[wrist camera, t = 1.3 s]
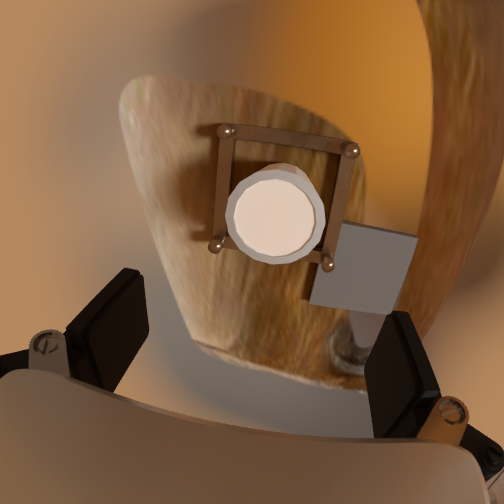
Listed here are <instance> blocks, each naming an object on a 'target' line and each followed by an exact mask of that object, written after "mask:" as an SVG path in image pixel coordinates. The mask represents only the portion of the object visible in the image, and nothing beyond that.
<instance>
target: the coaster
mask: <svg viewBox="0 0 504 504" xmlns="http://www.w3.org/2000/svg"><path fill="white" fill-rule="evenodd" d="M325 230H326V229H325ZM417 241H418V238H417V236H416V235H412V234H408V233H403V232H398V231H393V230H388V229H384V228H378V227H374V226H369V225H364V224H358V223H353V222H348V221H342V226H341V230H340V234H339V239H338V243H337V247H336V251H335V255H334V264H335V268H334V270H333V271H332V272H329V273H326V272H324V271H323V270H322V268H321V264H319V263H318V265H317V269H316V273H315V278H314V282H313V286H312V290H311V294H310V298H309V304H313V305H320V306H326V307H333V308H340V309H347V310H355V311H361V312H370V313H376V314H384V315H388V314H390V313H391V311H392V308H393V306H394V304H395V301H396V299H397V296H398V294H399V291H400V288H401V286H402V284H403V281H404V278H405V276H406V273H407V270H408V267H409V265H410V262H411V259H412V256H413V253H414V250H415V247H416V244H417Z"/></svg>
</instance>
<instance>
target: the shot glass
mask: <svg viewBox="0 0 504 504" xmlns="http://www.w3.org/2000/svg"><path fill="white" fill-rule="evenodd" d="M225 218H226V223H227V228H228V232H229V235H230V236H231V238H232V239H233V241H234V242H235V244H236V245H237V246H238V248H239V249H240V250H241V251H243V252H244V253H246V254H247V255H249V256H250V257H251V258H253V259H254V260H258V261H262V262H265V263H269V264H282V263H291V262H293V261H296V260H298V259H300V258H302V257H304V256H306V255H308V254H309V252H310V251H311V250H312V249H313V248H314V247H315V246H316V245H317V244H318V242H319V241H320V239H321V236H322V233H323V230H324V227H325V213H324V204H323V203H322V201H321V199H320V197H319V195H318V194H317V192H316V190H315V188H314V187H313V185H312V183H311V182H310V180H309V179H308V177H307V175H306V174H305V173H304V172H303V171H301V170H300V169H299V168H297V167H296V166H294V165H290V164H286V163H275V164H270V165H268V166H266V167H264V168H263V169H261V170H259V171H257V172H256V173H254V174H252V175H251V176H249V177H247V178H246V179H244V180H242V181H241V182H239V184H238V185H237V186H236V188H235V189H234V191H233V192H232V194H231V195H230V196H229V198H228V203H227V208H226V213H225Z"/></svg>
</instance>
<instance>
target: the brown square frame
mask: <svg viewBox="0 0 504 504" xmlns="http://www.w3.org/2000/svg"><path fill="white" fill-rule="evenodd" d="M216 135H217V137H218V138H220V142H219V153H218V165H217V178H216V192H215V207H214V222H213V239H212V240H211V242H210V243H209V245H208V249H209V251H210V252H211V253H213V254H217V253H219V252H220V251H221V249H222V247H223V248H229V249H235V250H240V249H239V248H238V246H237V245H236V244H235V242H234V241H233V239H232V238H231V236H230V235H229V232H228V228H227V223H226V218H225V213H226V208H227V203H228V198H229V196H230V195H231V188H232V177H233V166H234V155H235V145H236V139H244V140H253V141H261V142H269V143H276V144H283V145H290V146H297V147H303V148H309V149H315V150H320V151H326V152H331V153H336V154H340V157H339V162H338V168H337V174H336V179H335V185H334V190H333V195H332V200H331V205H330V210H329V215H328V220H327V225H326V230H325V234H324V239H323V243H322V248H321V247H314V248H313V249H312V250H311V251H310V252H309V254H308V255H306V256H304V257H302V258H300V259H298V260H301V261H307V262H313V263H319V264H321V268H322V270H323V271H324V272H326V273H329V272H332V271H333V270H334V268H335V264H334V255H335V251H336V247H337V243H338V239H339V234H340V230H341V226H342V221H343V217H344V213H345V208H346V203H347V199H348V194H349V189H350V184H351V179H352V174H353V168H354V163H355V158H357V157H358V156H359V155H360V148H359V146H358V143H356V142H351V141H346V140H341V139H336V138H331V137H326V136H320V135H315V134H309V133H303V132H296V131H290V130H283V129H276V128H268V127H260V126H251V125H241V124H230V123H221V125H219V126H218V127H217V129H216Z"/></svg>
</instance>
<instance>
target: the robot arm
mask: <svg viewBox="0 0 504 504" xmlns="http://www.w3.org/2000/svg"><path fill="white" fill-rule="evenodd" d="M148 333H149V323H148V316H147V308H146V298H145V288H144V278H143V276H142V275H140V272H139V271H138V270H134V269H130V268H124V269H122V270H121V271H120V272H119V273H118V274H117V275H116V276H115V277H114V278H113V279H112V280H111V281H110V282H109V283H108V284H107V285H106V286H105V287H104V288H103V289H102V290H101V291H100V292H99V293H98V294H97V295H96V296H95V297H94V299H92V301H90V303H89V304H88V305H87V306H86V307H85V308H84V309H83V310H82V311H81V312H80V313H79V314H78V315H77V316H76V317H75V318H74V319H73V320H72V322H71V323H70V324H69V325H68V326H67V327H66V331H65V332H64V333H63V334H62V333H61V332H59V331H58V330H52V329H51V330H44V331H41V332H39V333H37V334H36V335H35V336H34V337H33V338H32V339H31V341H30V344H29V349H27V350H22V351H18V352H14V353H9V354H5V355H1V356H0V504H504V451H503V449H502V447H501V446H500V445H499V444H497V443H496V442H494V441H493V440H491V439H490V438H488V437H487V436H485V435H484V434H483V433H481V432H480V431H478V430H476V429H475V428H474V427H472V426H471V425H469V424H468V420H469V412H468V409H467V407H466V406H465V404H464V403H463V402H462V401H461V400H459V399H458V398H455V397H452V396H444V397H442V396H441V393H440V388H439V385H438V383H437V380H436V377H435V375H434V372H433V370H432V367H431V365H430V362H429V360H428V357H427V355H426V352H425V350H424V348H423V345H422V343H421V340H420V338H419V336H418V333H417V331H416V329H415V327H414V324H413V322H412V320H411V318H410V316H409V314H408V312H403V311H395V310H394V311H392V313H391V314H388V315H387V316H386V319H385V321H384V323H383V326H382V328H381V330H380V333H379V335H378V337H377V340H376V342H375V344H374V346H373V349H372V351H371V353H370V355H369V357H368V359H367V361H366V364H365V367H364V374H365V380H366V386H367V392H368V397H369V404H370V411H371V418H372V424H373V432H374V438H340V437H321V436H308V435H297V434H288V433H280V432H272V431H265V430H257V429H252V428H245V427H240V426H234V425H229V424H223V423H219V422H214V421H209V420H205V419H200V418H196V417H192V416H188V415H184V414H180V413H176V412H173V411H169V410H165V409H162V408H158V407H155V406H151V405H148V404H145V403H142V402H139V401H135V400H132V399H130V398H127V397H124V396H121V395H118V394H115V393H113V392H114V390H115V389H116V387H117V385H118V384H119V382H120V380H121V379H122V377H123V375H124V374H125V372H126V371H127V369H128V367H129V365H130V364H131V362H132V361H133V359H134V357H135V356H136V354H137V352H138V351H139V349H140V348H141V346H142V344H143V343H144V341H145V340H146V338H147V336H148Z"/></svg>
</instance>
